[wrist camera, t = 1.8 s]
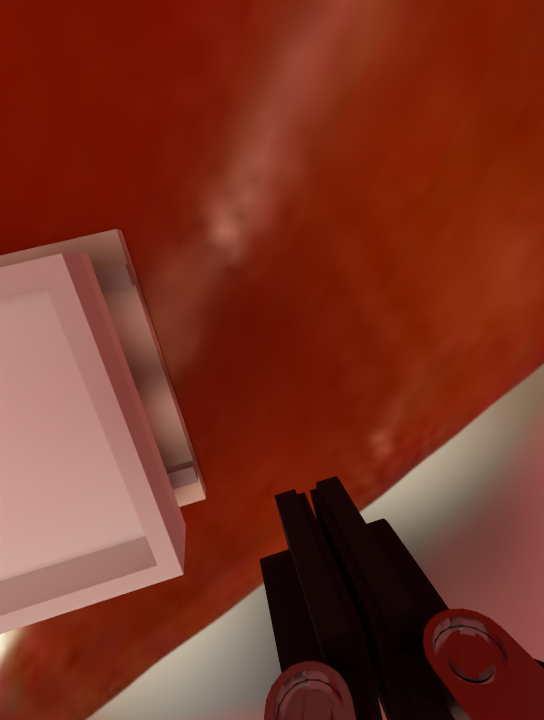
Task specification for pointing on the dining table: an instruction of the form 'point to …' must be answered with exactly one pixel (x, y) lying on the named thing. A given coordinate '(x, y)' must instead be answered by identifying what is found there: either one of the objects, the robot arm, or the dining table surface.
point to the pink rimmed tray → (74, 452)
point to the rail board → (136, 351)
